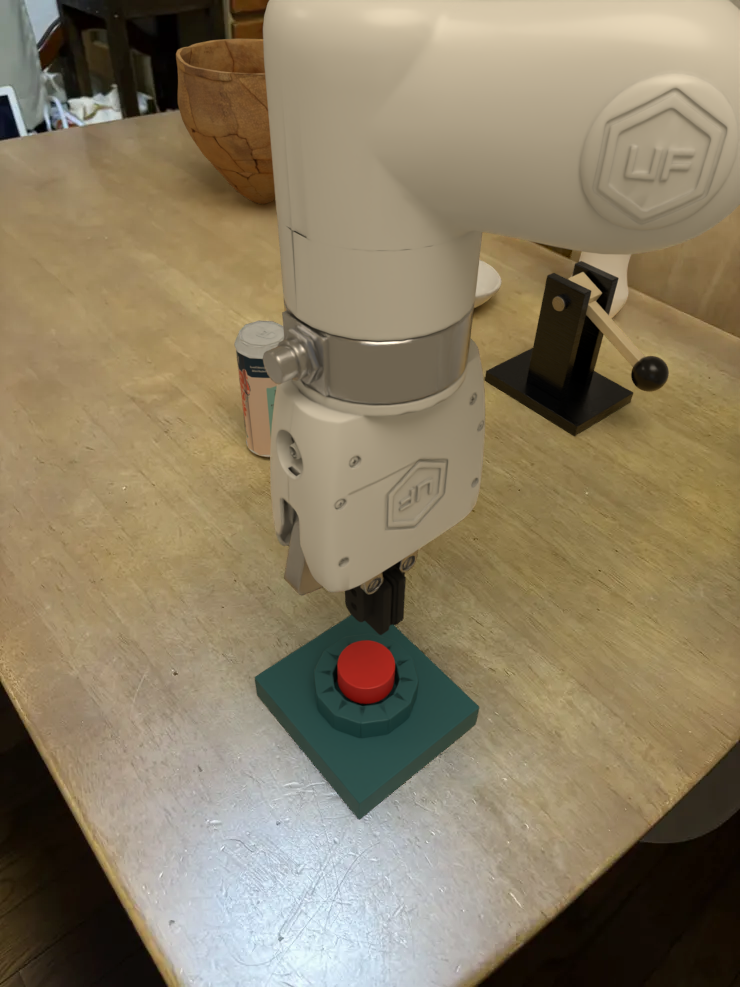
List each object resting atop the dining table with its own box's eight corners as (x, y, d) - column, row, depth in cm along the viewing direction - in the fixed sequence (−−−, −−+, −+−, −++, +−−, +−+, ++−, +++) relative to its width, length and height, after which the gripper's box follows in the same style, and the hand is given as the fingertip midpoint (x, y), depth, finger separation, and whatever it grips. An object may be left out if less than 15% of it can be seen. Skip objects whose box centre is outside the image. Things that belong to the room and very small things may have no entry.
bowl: (207, 174, 120) (190, 29, 106) (334, 178, 119) (333, 34, 106) (178, 229, 104) (153, 68, 91) (323, 234, 104) (320, 74, 91)
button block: (476, 724, 50) (483, 691, 47) (359, 820, 45) (359, 789, 42) (369, 620, 56) (370, 585, 53) (256, 695, 51) (251, 660, 48)
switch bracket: (630, 402, 77) (667, 287, 68) (574, 436, 72) (605, 318, 64) (540, 351, 83) (563, 240, 75) (484, 380, 79) (501, 266, 70)
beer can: (261, 424, 73) (250, 313, 65) (306, 436, 72) (300, 324, 63) (237, 453, 69) (222, 340, 61) (283, 466, 68) (275, 353, 60)
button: (405, 683, 48) (407, 667, 47) (362, 715, 46) (362, 699, 45) (369, 646, 50) (370, 630, 49) (326, 675, 48) (325, 660, 47)
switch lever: (661, 390, 70) (682, 370, 67) (640, 403, 68) (662, 383, 66) (571, 290, 73) (588, 266, 70) (550, 300, 71) (566, 276, 69)
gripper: (280, 453, 25) (308, 735, 38) (568, 310, 32) (511, 587, 45) (170, 358, 29) (228, 639, 42) (446, 250, 36) (425, 519, 49)
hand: (374, 612), depth 43 cm, fingers closed
